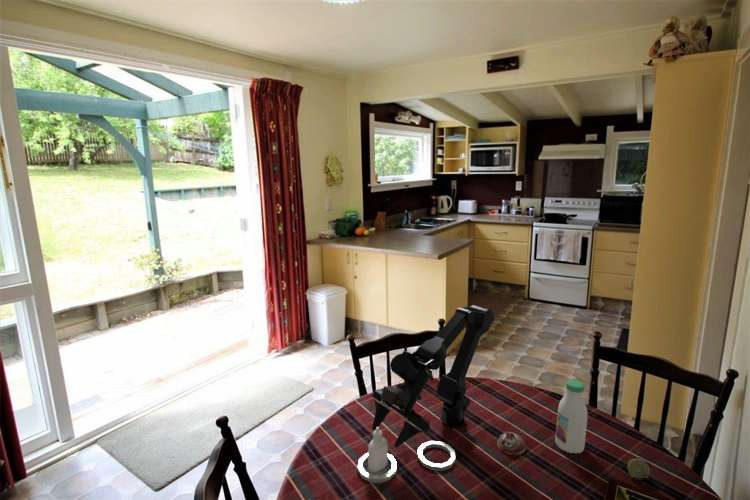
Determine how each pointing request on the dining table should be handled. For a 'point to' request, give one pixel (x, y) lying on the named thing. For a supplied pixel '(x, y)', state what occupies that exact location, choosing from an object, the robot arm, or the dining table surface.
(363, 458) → the collar
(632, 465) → the lime
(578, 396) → the milk bottle
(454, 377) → the robot arm
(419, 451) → the collar
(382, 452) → the eye dropper bottle
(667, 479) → the dining table surface
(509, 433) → the pastry
